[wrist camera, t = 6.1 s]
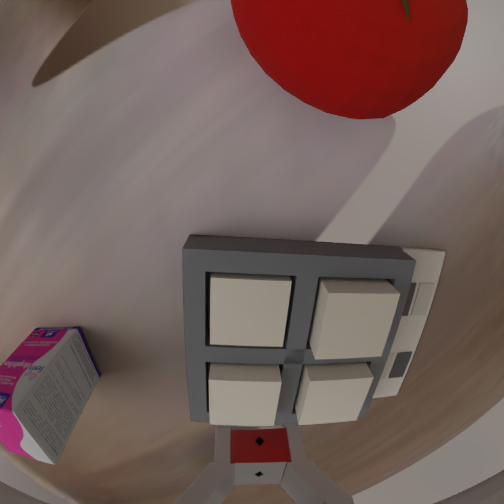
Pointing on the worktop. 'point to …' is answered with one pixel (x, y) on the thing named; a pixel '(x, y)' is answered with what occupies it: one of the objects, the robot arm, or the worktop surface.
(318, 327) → the button
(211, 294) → the button
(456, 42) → the tomato
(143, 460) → the worktop surface
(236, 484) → the robot arm
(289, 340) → the button board
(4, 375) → the supplement box
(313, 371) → the button
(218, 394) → the button
